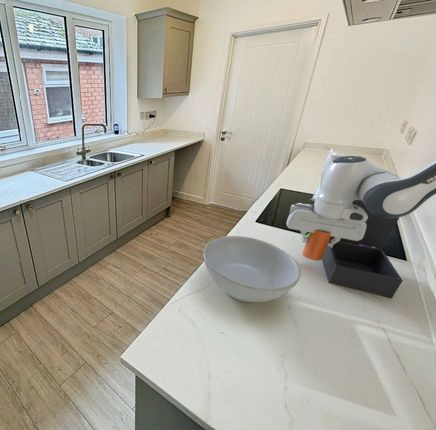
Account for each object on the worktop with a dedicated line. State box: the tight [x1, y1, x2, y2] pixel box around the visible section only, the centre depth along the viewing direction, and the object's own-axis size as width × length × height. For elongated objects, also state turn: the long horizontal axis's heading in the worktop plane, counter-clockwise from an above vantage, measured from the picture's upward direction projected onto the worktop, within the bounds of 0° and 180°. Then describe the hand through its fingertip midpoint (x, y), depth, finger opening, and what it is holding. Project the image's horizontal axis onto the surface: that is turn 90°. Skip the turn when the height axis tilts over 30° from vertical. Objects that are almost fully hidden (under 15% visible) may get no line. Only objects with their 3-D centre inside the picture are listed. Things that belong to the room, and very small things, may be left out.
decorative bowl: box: [203, 235, 302, 303], centre depth 83 cm, size 27×27×12 cm
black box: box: [321, 239, 403, 299], centre depth 88 cm, size 18×16×8 cm
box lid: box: [329, 200, 400, 250], centre depth 89 cm, size 18×16×1 cm
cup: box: [301, 230, 331, 261], centre depth 89 cm, size 6×6×11 cm
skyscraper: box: [309, 147, 346, 203], centre depth 138 cm, size 8×8×28 cm
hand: (316, 244), depth 89 cm, fingers closed on cup, 5 cm apart
